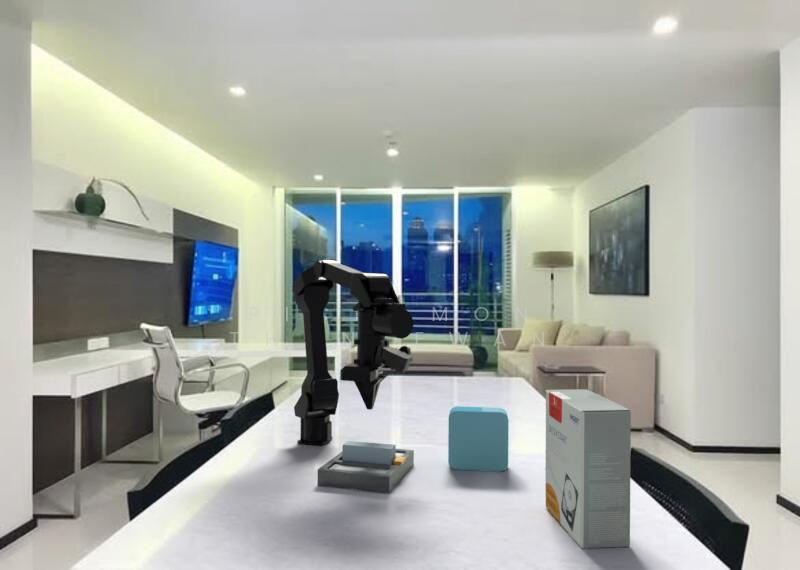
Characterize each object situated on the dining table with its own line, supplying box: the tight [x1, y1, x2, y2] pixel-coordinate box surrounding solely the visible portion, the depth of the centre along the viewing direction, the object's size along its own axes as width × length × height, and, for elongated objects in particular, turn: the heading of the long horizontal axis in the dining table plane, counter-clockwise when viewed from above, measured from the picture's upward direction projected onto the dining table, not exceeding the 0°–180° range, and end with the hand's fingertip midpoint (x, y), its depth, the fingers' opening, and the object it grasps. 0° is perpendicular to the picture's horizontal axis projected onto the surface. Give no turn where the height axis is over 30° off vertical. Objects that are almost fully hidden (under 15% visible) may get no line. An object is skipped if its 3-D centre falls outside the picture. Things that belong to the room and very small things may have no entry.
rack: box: [317, 448, 415, 495], centre depth 112 cm, size 14×17×4 cm
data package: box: [447, 405, 509, 473], centre depth 117 cm, size 12×4×12 cm, turn 82°
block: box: [341, 440, 397, 465], centre depth 112 cm, size 10×3×6 cm, turn 74°
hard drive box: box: [545, 388, 632, 549], centre depth 89 cm, size 16×8×20 cm, turn 5°
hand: (369, 409), depth 118 cm, fingers closed
